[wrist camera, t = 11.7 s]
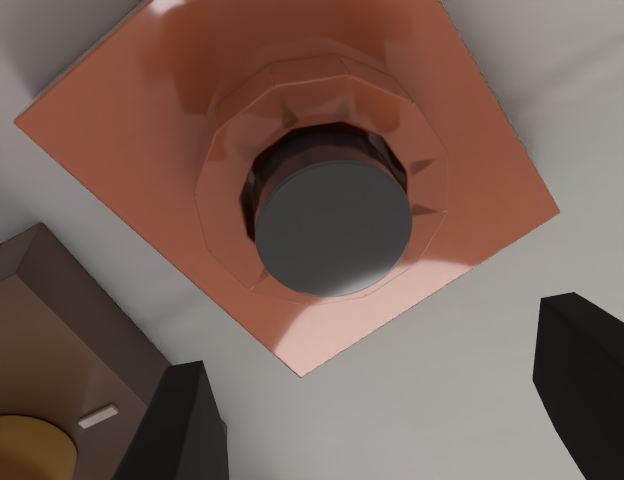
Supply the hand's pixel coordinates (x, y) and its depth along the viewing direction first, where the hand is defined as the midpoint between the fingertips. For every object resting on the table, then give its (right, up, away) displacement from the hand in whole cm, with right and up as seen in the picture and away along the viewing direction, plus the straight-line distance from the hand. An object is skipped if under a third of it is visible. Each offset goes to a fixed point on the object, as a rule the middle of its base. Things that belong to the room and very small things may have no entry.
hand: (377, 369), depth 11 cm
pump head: (-1, +4, +6) cm, 7 cm away
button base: (-1, +5, +9) cm, 10 cm away
